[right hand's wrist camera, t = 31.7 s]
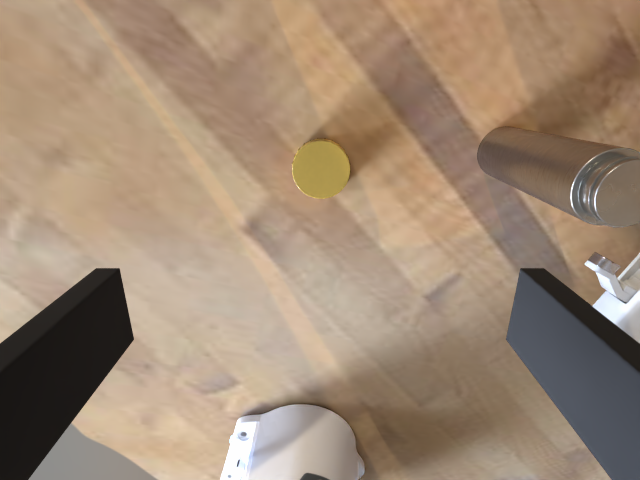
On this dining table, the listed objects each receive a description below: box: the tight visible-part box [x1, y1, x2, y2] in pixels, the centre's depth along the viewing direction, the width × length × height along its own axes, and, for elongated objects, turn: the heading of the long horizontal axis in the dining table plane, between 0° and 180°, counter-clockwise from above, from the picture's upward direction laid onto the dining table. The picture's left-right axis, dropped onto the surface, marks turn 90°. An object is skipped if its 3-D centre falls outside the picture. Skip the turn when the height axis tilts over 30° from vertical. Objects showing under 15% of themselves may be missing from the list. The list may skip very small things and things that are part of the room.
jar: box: [477, 127, 640, 227], centre depth 30 cm, size 5×5×17 cm
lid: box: [292, 138, 351, 199], centre depth 38 cm, size 6×6×2 cm
